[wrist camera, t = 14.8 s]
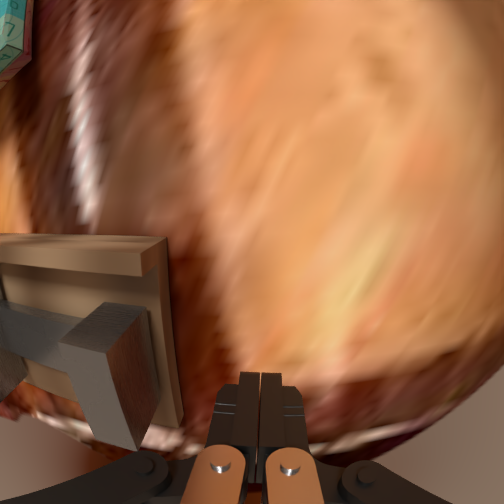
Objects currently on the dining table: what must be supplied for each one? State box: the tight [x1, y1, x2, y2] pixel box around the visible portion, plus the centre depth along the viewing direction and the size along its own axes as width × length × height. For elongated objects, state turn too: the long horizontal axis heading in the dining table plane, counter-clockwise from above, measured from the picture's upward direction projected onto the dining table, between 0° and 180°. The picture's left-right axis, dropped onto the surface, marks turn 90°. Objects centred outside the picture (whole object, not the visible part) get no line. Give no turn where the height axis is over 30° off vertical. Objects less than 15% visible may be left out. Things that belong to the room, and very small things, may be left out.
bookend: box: [0, 287, 161, 451], centre depth 7 cm, size 11×8×9 cm
